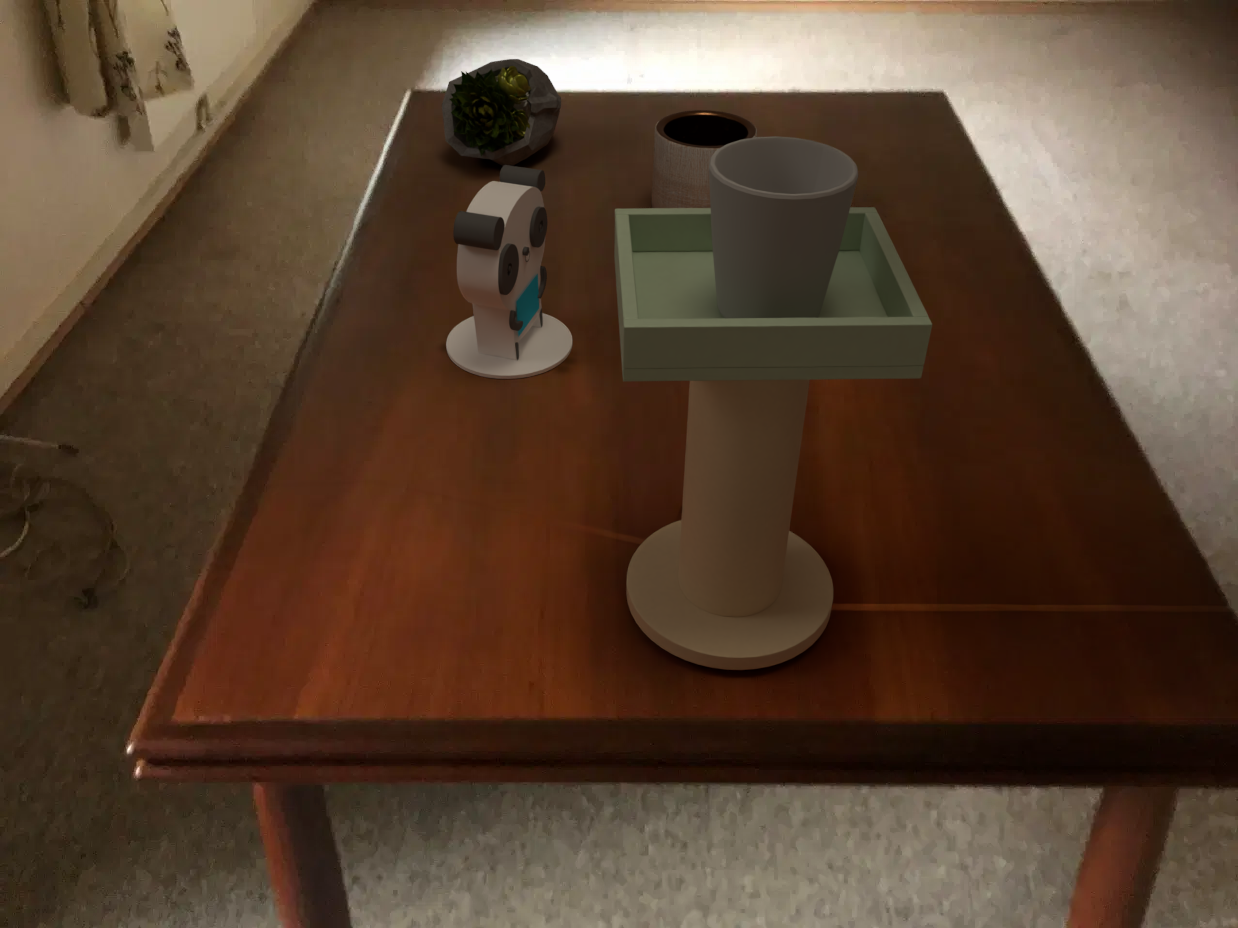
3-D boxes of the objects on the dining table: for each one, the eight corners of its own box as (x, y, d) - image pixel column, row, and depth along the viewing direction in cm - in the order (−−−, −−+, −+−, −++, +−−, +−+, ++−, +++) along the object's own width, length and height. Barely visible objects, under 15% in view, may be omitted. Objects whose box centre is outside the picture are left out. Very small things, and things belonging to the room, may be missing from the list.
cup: (704, 346, 60) (715, 195, 55) (692, 257, 68) (700, 118, 63) (848, 346, 60) (872, 196, 55) (819, 257, 68) (837, 119, 63)
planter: (703, 184, 131) (708, 101, 125) (771, 216, 124) (780, 131, 118) (630, 209, 125) (632, 124, 119) (697, 245, 119) (703, 157, 113)
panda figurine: (543, 393, 97) (538, 232, 88) (422, 369, 100) (404, 210, 90) (589, 323, 106) (588, 171, 97) (476, 303, 109) (465, 153, 99)
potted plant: (584, 116, 138) (559, 128, 124) (505, 181, 142) (472, 200, 128) (522, 32, 135) (489, 34, 121) (443, 100, 140) (403, 110, 126)
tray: (823, 524, 84) (874, 205, 68) (862, 668, 73) (934, 326, 57) (611, 527, 83) (614, 206, 68) (618, 672, 72) (624, 329, 57)
